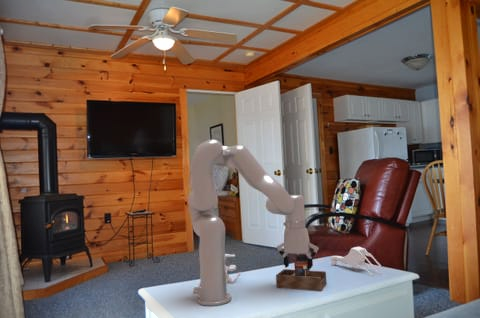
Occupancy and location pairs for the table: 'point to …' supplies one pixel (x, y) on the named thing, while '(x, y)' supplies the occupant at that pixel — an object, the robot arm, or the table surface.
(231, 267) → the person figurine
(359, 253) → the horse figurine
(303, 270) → the supplement bottle
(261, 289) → the table surface
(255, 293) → the table surface
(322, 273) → the brown wooden box
